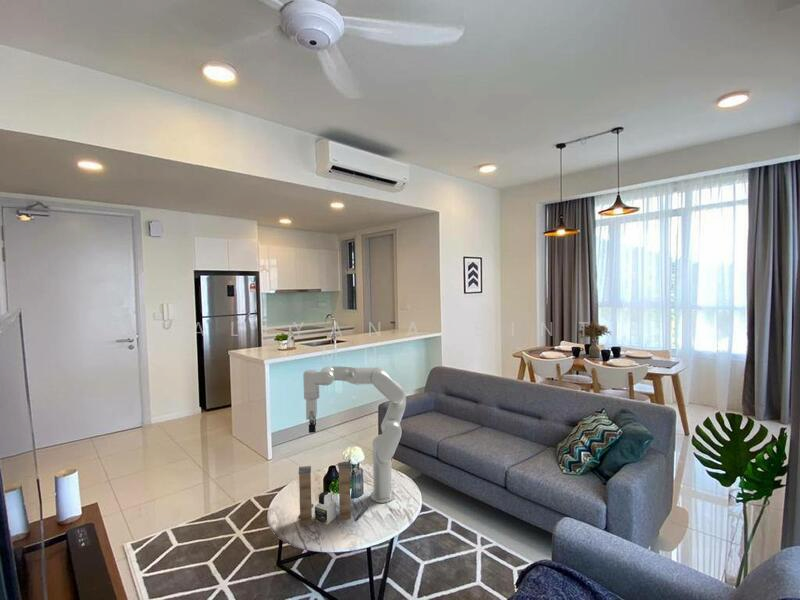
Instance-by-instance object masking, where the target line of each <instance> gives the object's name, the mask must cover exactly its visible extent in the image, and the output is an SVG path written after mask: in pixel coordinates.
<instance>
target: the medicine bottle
mask: <svg viewBox="0 0 800 600" xmlns="http://www.w3.org/2000/svg"><path fill="white" fill-rule="evenodd" d="M336 517H337V502H336V501H334V500H333V493H331V492H330V491H323V492H320V493H319V494H318V503H317V504H316V505H314V519H315V520H314V521H315V522H318V523H321V524H324V525H327V526H328V524H330V523H331V522H332V521H333V520H335V519H336Z"/></svg>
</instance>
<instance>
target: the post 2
mask: <svg viewBox="0 0 800 600" xmlns="http://www.w3.org/2000/svg"><path fill="white" fill-rule="evenodd" d="M337 466H338V467H337V469H338V497H339V498H338V500H339V501H338V503H339V505H338V507H339V508H338V509H339V520H340V521H343V520H344V521H345V520H351V519H352V516H351V514H352V512H351V511H352V508H351V507H352V506H351V471H350V470H351V464H350V461H344V462H343V461H342V462H338V463H337Z"/></svg>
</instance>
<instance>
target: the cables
mask: <svg viewBox="0 0 800 600" xmlns="http://www.w3.org/2000/svg"><path fill="white" fill-rule="evenodd" d="M311 506H312V508H314V507H315V505H314V504H313V503H311ZM367 509H368V506H367V505H365V507H364V508H362V510H361V511H360V512H359V513H358V515H357V516H356V517H355V521H358V520H359V519H360V518H361V517H362V515H363V514H364V513H365V512H366V510H367ZM298 518H299V519H300V514H299V516H298Z"/></svg>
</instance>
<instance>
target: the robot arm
mask: <svg viewBox="0 0 800 600" xmlns="http://www.w3.org/2000/svg"><path fill="white" fill-rule="evenodd" d="M302 375H303V399H304V400H305V419H306V421H307V420H308V433H309V434H311V433H312V434H313V433H316V431H317V430H316V426H317V422H316V421H317V420H316V419H317V415H318V413H317V412H318V399H319V398H320V386H330V385H332V384H333V383H334V381H335V382H336V381H339V382H347V383H349V384H352V385H356V386H357V385H359V386H360V385H373V387H375V388H376V389H377V391H378V392H380V394H382V395H383V396H384V397H385V398H386V399H387V400H389V403H388V404H389V405H388V408H387V410H386V413H385V416H384V417H383V420H382V422H381V424H380V428H381V434H378V435H376V436H375V437H374V438H373V439H372V442H371V450H372V451H371V452H372V454H371V455H372V480H373V481H372V484H373V487H372V489H373V490H372V491H371V492H370V499H371V500H372V501H373V502H375V503H380V504H382V503H383V504H384V503H389V502H391V501H392V500H394V499H395V497H396V494H395V491H394V490H393V489H392V486H393V485H394V482H393V480H392V479H393V478H392V458H393V457H394V455H395V452H396V451H397V448H398V446H399V442H400V440H401V437H402V433H403V432H402V427H401V421H402V419H403V416H404V414H405V410H406V406H407V396H406V393H405V390H404V388H403V386H402V385H401V384H400V383H399V382H398V381H395V380H394V379H392V378H391V377H390V376H389V374H387V372H386V371H385V369H383V368H382V367H352V366H350V367H349V366H339V365H338V366H334V365H333V366H325V367H323V368H321V369H320V371H318V370H317V369H307V370H304V372H303V374H302Z"/></svg>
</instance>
